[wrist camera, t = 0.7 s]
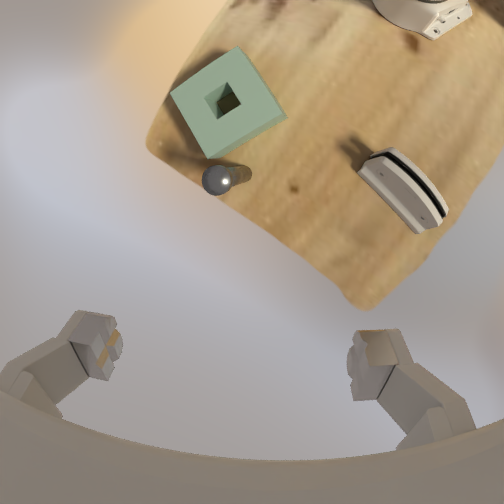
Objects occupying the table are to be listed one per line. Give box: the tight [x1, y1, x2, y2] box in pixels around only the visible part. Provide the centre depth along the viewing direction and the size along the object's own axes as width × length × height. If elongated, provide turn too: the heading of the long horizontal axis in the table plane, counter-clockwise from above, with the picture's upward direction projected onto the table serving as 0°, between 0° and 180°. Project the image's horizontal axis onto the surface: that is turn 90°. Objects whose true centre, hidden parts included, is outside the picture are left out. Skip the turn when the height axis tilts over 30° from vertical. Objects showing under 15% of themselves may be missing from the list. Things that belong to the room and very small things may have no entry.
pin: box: [202, 165, 252, 196], centre depth 48 cm, size 4×4×14 cm
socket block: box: [170, 46, 288, 159], centre depth 48 cm, size 15×15×6 cm
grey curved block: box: [357, 147, 449, 234], centre depth 44 cm, size 17×5×10 cm, turn 51°
